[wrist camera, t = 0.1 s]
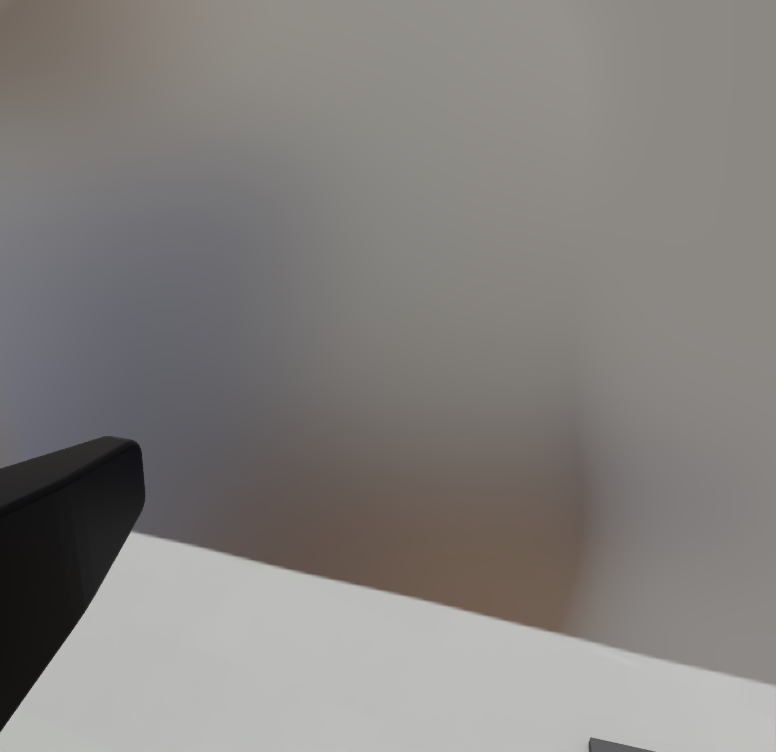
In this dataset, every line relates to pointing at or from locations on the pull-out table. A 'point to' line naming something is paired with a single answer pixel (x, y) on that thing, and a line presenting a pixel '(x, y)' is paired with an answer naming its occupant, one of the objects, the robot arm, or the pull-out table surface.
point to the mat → (611, 747)
